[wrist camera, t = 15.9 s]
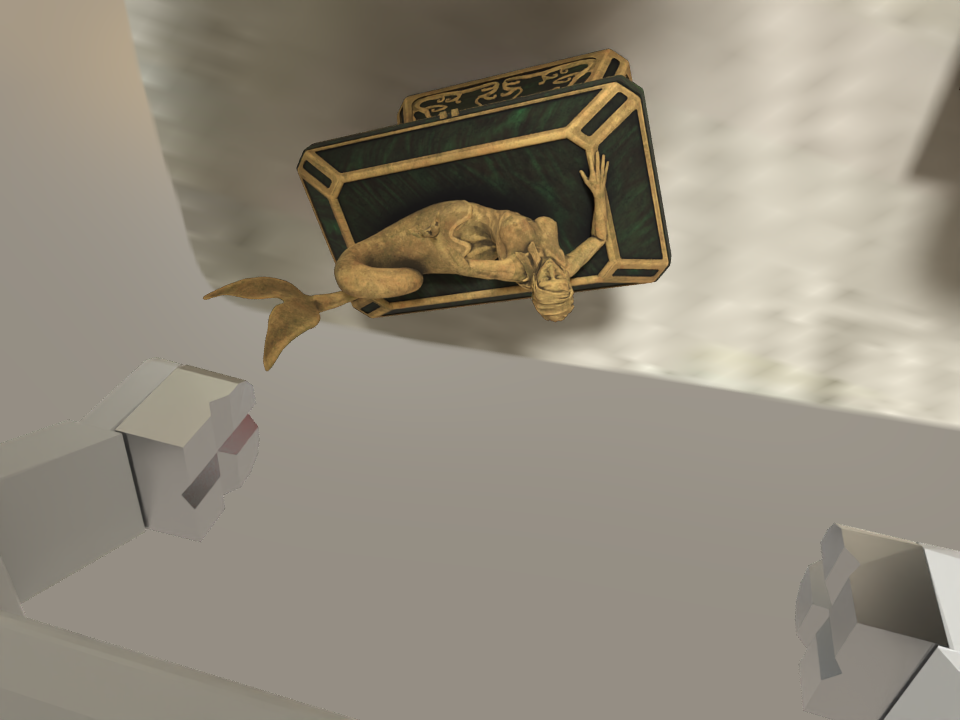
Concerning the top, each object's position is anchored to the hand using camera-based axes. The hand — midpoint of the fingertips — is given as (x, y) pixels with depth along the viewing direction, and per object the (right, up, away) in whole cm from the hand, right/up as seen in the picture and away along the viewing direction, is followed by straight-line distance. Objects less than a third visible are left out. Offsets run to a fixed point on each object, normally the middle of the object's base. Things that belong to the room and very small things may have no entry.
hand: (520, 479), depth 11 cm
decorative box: (0, +14, +35) cm, 37 cm away
